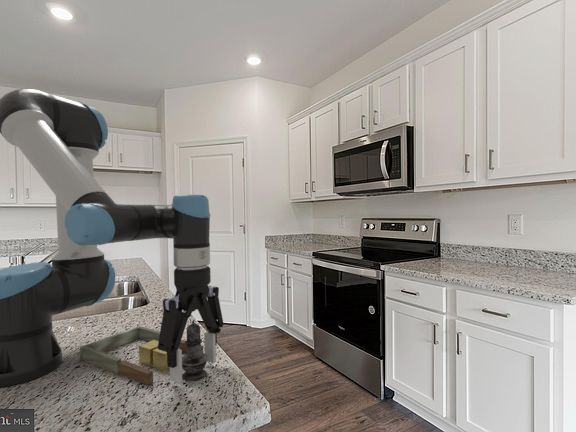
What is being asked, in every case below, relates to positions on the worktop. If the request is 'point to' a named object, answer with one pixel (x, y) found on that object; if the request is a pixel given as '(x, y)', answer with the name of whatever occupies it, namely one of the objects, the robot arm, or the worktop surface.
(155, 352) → the tan wooden cube
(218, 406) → the worktop surface
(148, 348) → the chip
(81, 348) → the frame
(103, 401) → the worktop surface
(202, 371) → the salt shaker
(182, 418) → the worktop surface
